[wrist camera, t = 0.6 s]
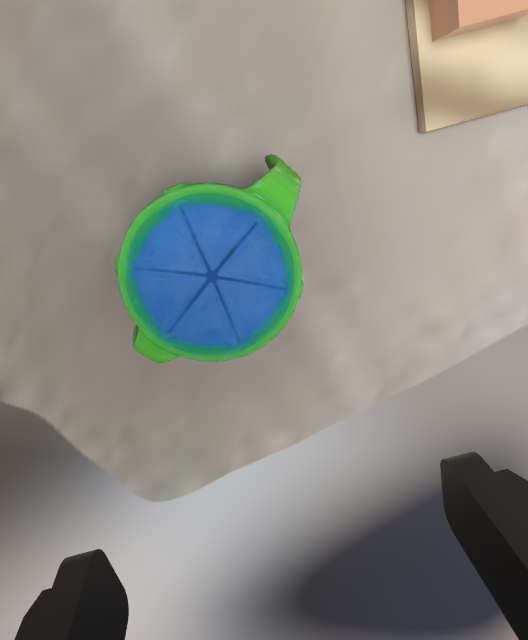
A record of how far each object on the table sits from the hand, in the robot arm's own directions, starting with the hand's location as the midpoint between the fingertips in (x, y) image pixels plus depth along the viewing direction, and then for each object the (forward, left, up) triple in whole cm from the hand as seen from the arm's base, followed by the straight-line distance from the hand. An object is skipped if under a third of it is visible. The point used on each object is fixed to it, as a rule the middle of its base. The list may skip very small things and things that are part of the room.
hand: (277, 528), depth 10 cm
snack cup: (-2, -1, -26) cm, 27 cm away
